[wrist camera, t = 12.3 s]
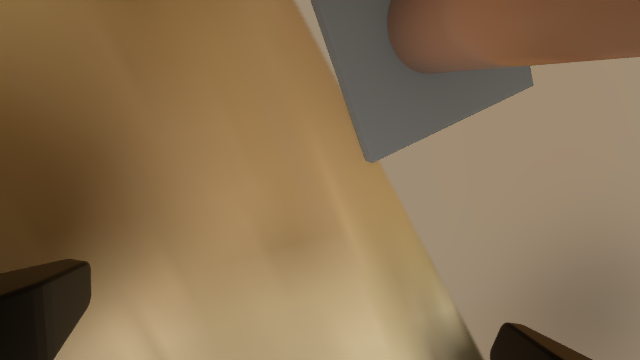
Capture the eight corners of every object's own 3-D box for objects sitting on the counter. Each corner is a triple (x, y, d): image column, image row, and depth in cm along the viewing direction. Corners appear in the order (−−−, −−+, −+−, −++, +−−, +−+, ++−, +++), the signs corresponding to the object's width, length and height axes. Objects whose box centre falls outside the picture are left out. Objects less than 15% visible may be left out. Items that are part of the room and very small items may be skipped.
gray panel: (365, 160, 21) (371, 162, 21) (291, -56, 18) (296, -62, 17) (522, 85, 24) (533, 85, 23) (484, -120, 20) (495, -128, 19)
